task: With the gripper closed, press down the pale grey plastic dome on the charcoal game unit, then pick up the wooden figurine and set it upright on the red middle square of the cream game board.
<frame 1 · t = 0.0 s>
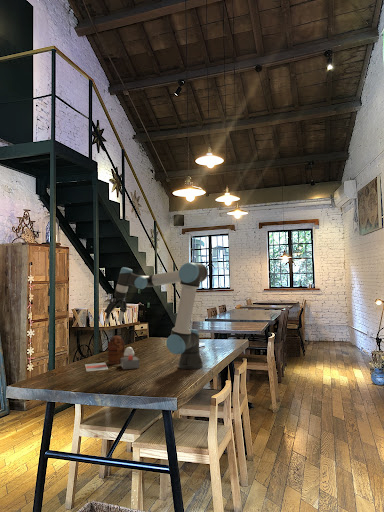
hand: (113, 322, 245), 28 cm above the table, tool tilted 20°, fingers open, 13 cm apart
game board: (96, 367, 241), on the table
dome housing: (129, 366, 239), on the table
wooden figurine: (116, 363, 253), on the table
dome: (129, 351, 241), point 10 cm above the table, slide at 0.0 cm
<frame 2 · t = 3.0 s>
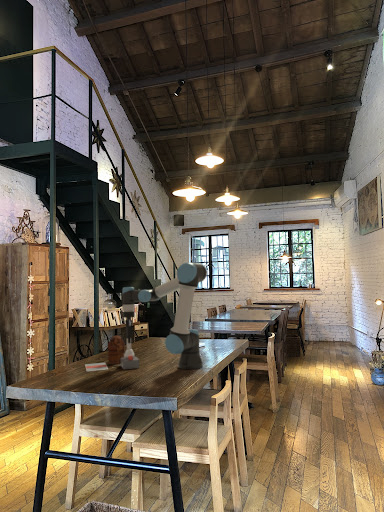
hand: (128, 348, 242), 11 cm above the table, tool pointing down, fingers closed
dome: (129, 352, 241), point 8 cm above the table, slide at 1.1 cm, touching gripper
everything else where it was.
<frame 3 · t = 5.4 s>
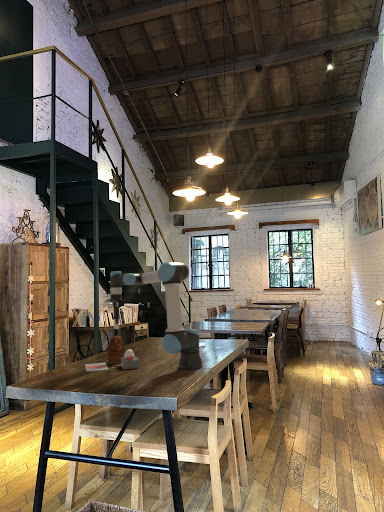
hand: (116, 328, 255), 23 cm above the table, tool pointing down, fingers open, 4 cm apart
dome: (129, 353, 241), point 8 cm above the table, slide at 1.5 cm
everything else where it was.
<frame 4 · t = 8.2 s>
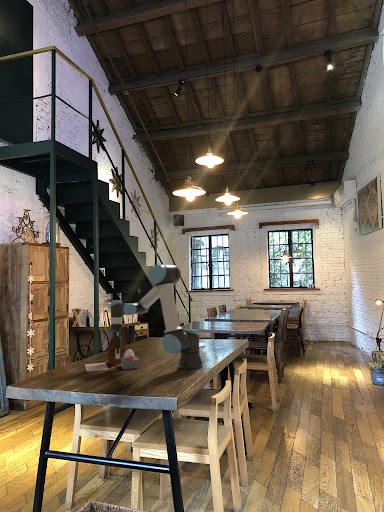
hand: (116, 357, 254), 4 cm above the table, tool pointing down, fingers closed on wooden figurine, 9 cm apart
wooden figurine: (116, 363, 253), on the table, touching gripper
everything else where it was.
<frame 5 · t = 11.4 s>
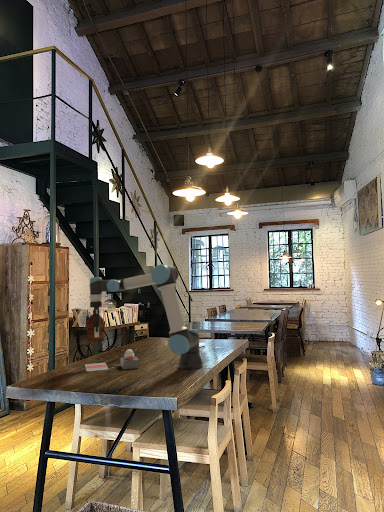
hand: (96, 336, 243), 19 cm above the table, tool pointing down, fingers closed on wooden figurine, 9 cm apart
wooden figurine: (96, 342, 242), point 16 cm above the table, touching gripper
everything else where it was.
when the fingers open (5 cm above the table, at t = 14.6 s): wooden figurine stays where it is, resting on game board.
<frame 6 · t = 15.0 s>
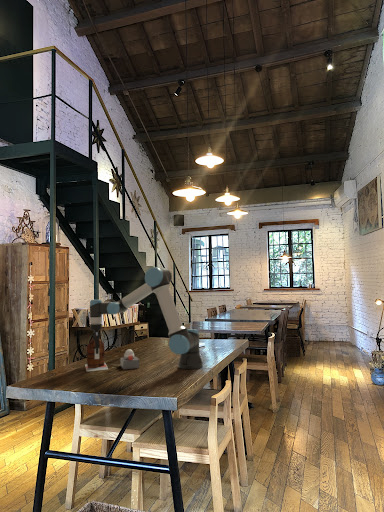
hand: (96, 357, 242), 6 cm above the table, tool pointing down, fingers open, 13 cm apart
wooden figurine: (96, 366, 241), resting on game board
everything else where it was.
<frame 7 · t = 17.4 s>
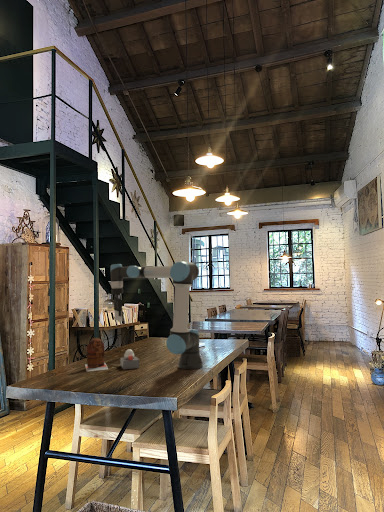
hand: (118, 321, 244), 29 cm above the table, tool pointing down, fingers open, 13 cm apart
nothing on the table moved.
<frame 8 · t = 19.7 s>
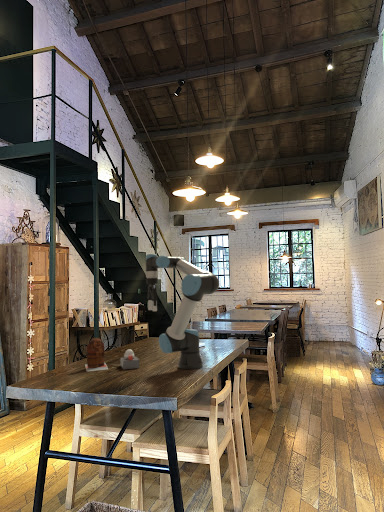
hand: (152, 310, 245), 35 cm above the table, tool pointing down, fingers open, 13 cm apart
nothing on the table moved.
at the end: dome slide at 1.5 cm; wooden figurine 0.3 cm off-centre on the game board, point 0.1 cm above the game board's base; wooden figurine tilted 0° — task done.
